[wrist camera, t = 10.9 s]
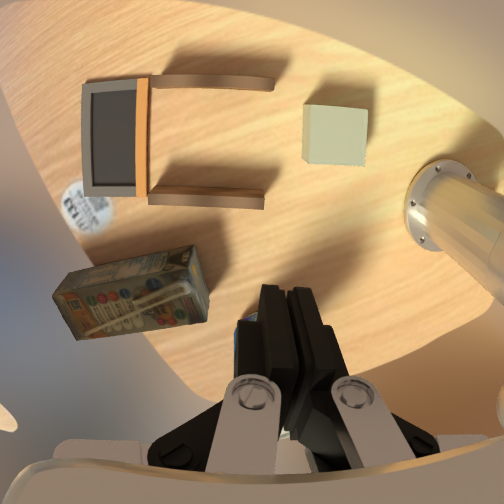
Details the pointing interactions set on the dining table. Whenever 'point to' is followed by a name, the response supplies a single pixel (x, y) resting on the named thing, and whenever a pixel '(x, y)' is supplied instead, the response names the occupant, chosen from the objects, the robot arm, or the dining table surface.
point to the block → (334, 135)
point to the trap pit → (115, 138)
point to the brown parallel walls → (209, 194)
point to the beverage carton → (135, 295)
